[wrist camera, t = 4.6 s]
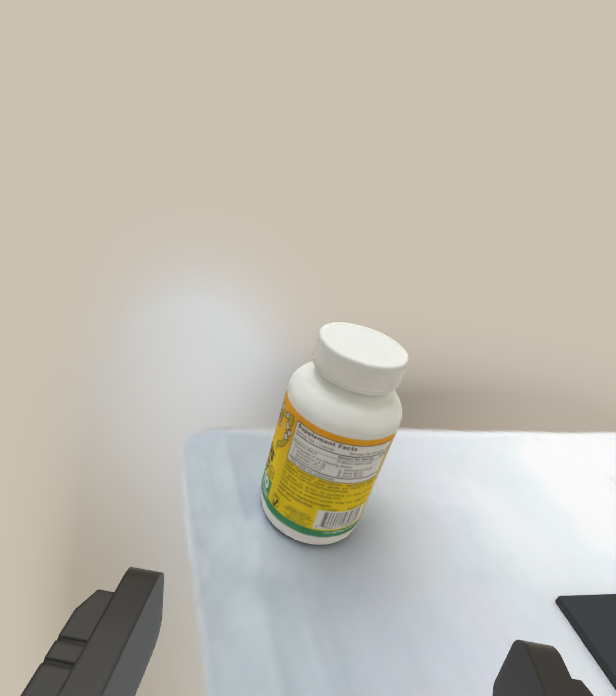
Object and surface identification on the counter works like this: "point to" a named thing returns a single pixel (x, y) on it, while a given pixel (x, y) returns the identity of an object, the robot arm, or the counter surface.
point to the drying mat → (594, 626)
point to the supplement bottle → (333, 434)
